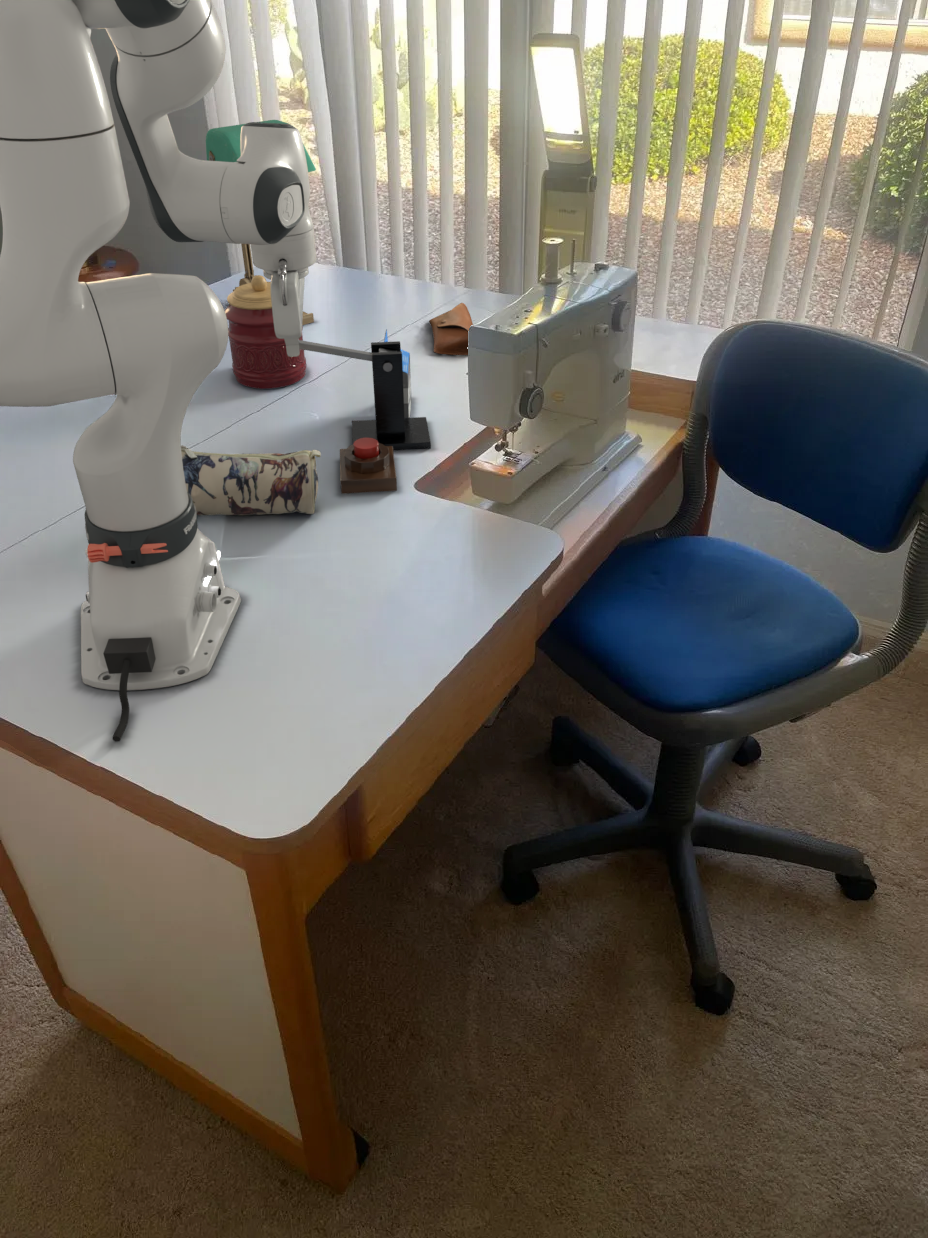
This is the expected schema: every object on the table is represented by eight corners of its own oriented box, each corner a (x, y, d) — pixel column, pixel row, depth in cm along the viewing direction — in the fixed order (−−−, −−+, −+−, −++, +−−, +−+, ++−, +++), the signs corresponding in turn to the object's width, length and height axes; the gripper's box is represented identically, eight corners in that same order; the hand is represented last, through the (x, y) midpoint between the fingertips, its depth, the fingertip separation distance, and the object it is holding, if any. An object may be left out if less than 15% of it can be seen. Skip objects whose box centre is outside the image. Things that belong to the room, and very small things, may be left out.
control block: (397, 491, 140) (395, 466, 138) (341, 494, 140) (339, 469, 137) (393, 458, 148) (392, 434, 146) (340, 461, 147) (338, 437, 145)
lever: (286, 357, 141) (288, 341, 140) (287, 343, 145) (289, 328, 144) (395, 375, 145) (398, 360, 143) (393, 361, 149) (396, 346, 148)
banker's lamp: (279, 292, 208) (258, 111, 187) (333, 319, 195) (317, 128, 174) (213, 309, 200) (183, 121, 179) (265, 338, 187) (239, 140, 166)
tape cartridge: (410, 421, 158) (407, 349, 151) (386, 422, 158) (382, 349, 151) (412, 398, 165) (409, 328, 158) (389, 398, 165) (385, 328, 158)
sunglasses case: (425, 319, 194) (442, 289, 191) (456, 335, 197) (472, 306, 194) (433, 353, 180) (451, 322, 177) (465, 370, 183) (483, 340, 179)
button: (379, 458, 140) (378, 448, 139) (354, 460, 140) (353, 449, 139) (378, 447, 143) (377, 436, 142) (354, 448, 143) (353, 437, 142)
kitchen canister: (220, 374, 174) (204, 274, 163) (281, 355, 181) (270, 258, 170) (259, 396, 166) (245, 293, 155) (321, 376, 173) (312, 276, 162)
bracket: (353, 453, 150) (346, 361, 141) (352, 427, 157) (345, 338, 148) (430, 449, 151) (428, 357, 142) (426, 423, 158) (423, 335, 149)
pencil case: (163, 526, 133) (149, 462, 127) (178, 494, 139) (165, 432, 134) (322, 526, 133) (316, 462, 127) (330, 495, 139) (324, 433, 133)
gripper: (305, 272, 127) (315, 372, 135) (307, 228, 143) (316, 320, 151) (256, 273, 126) (269, 374, 135) (264, 230, 142) (275, 322, 151)
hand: (294, 345), depth 143 cm, fingers closed on lever, 5 cm apart
